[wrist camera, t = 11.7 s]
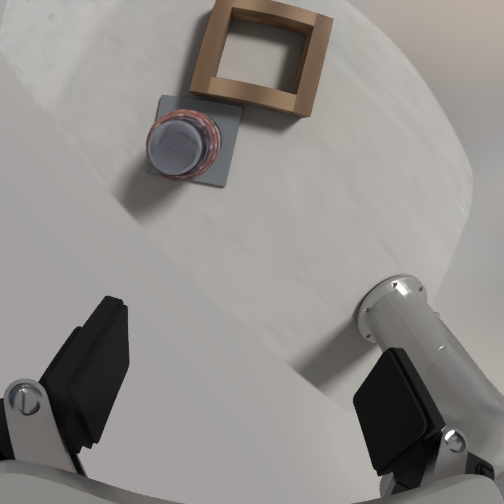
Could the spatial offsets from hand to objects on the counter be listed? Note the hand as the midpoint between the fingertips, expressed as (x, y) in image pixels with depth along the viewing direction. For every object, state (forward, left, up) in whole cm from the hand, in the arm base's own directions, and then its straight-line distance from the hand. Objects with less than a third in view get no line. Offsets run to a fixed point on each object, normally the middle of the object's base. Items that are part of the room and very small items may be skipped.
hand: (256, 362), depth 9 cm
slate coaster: (+7, -5, -25) cm, 26 cm away
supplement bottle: (+6, -5, -24) cm, 26 cm away
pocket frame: (+2, -16, -25) cm, 29 cm away
